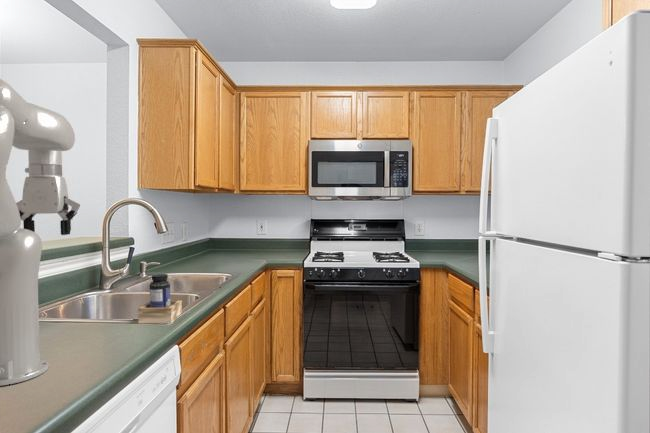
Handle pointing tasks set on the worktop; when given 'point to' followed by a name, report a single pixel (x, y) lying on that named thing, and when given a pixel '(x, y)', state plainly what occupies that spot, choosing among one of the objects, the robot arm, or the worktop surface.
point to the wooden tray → (159, 313)
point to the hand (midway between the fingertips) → (47, 234)
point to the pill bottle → (160, 291)
